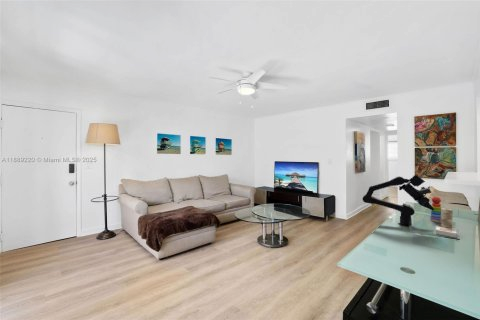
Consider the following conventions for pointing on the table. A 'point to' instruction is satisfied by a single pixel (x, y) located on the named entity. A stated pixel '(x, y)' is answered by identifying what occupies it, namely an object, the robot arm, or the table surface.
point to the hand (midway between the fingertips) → (431, 208)
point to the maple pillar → (446, 218)
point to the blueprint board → (447, 232)
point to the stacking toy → (436, 210)
